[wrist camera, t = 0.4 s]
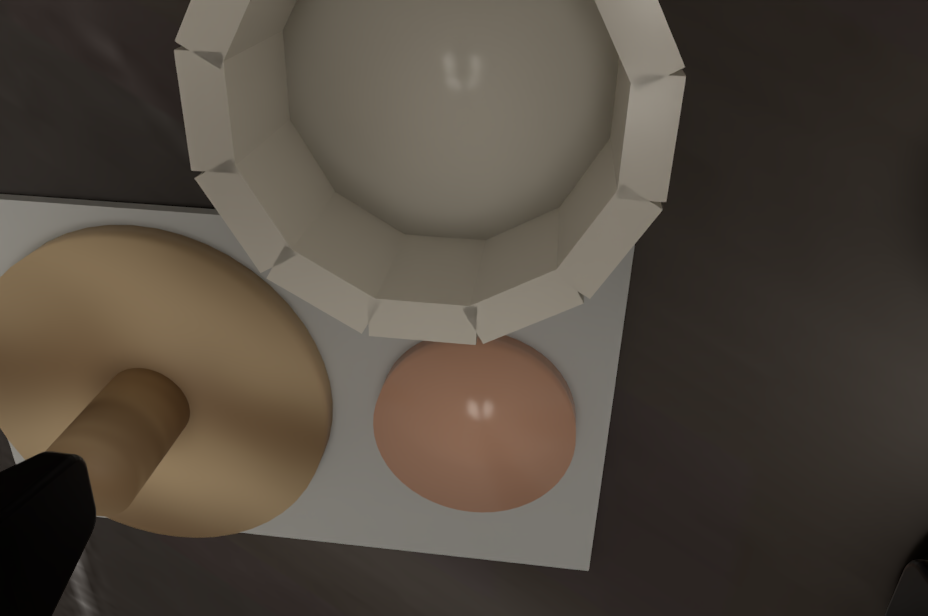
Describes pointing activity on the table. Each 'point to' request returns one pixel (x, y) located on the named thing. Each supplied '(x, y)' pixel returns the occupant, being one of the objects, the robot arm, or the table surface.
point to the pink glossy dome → (476, 423)
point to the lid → (162, 379)
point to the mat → (357, 390)
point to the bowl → (433, 150)
